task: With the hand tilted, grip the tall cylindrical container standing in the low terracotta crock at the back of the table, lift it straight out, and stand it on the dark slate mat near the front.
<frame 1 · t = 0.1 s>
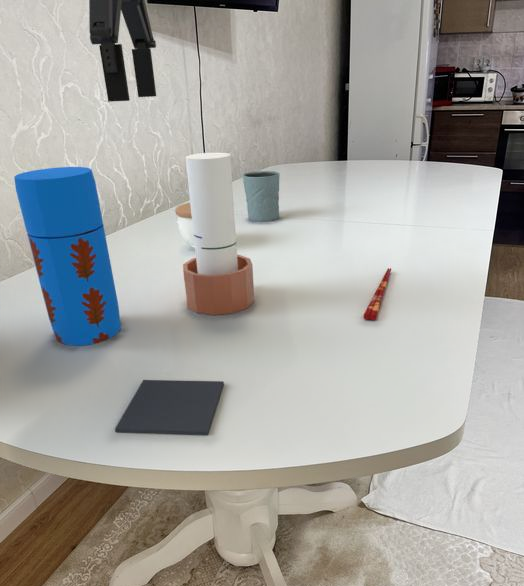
hand: (134, 99, 76), 34 cm above the table, tool pointing down, fingers open, 13 cm apart
crock: (220, 301, 95), on the table
lidded bowl: (205, 245, 127), on the table
mat: (173, 406, 65), on the table
thermos: (88, 332, 86), on the table
grey-green textured cup: (262, 218, 148), on the table
chopstick: (379, 293, 95), on the table
cylindrical container: (220, 302, 95), resting in crock
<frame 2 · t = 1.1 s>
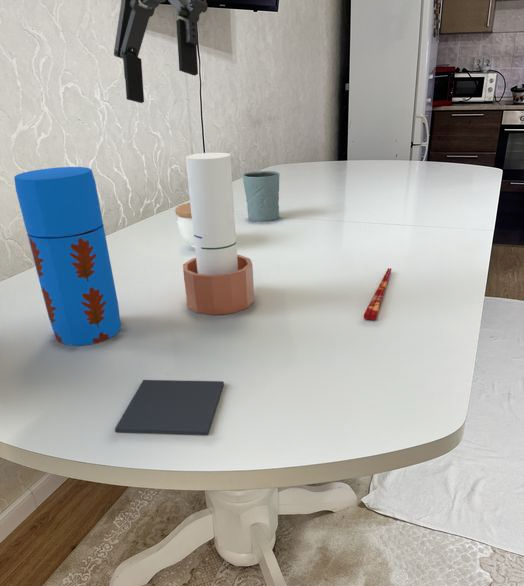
hand: (160, 87, 78), 35 cm above the table, tool tilted 20°, fingers open, 13 cm apart
nothing on the table moved.
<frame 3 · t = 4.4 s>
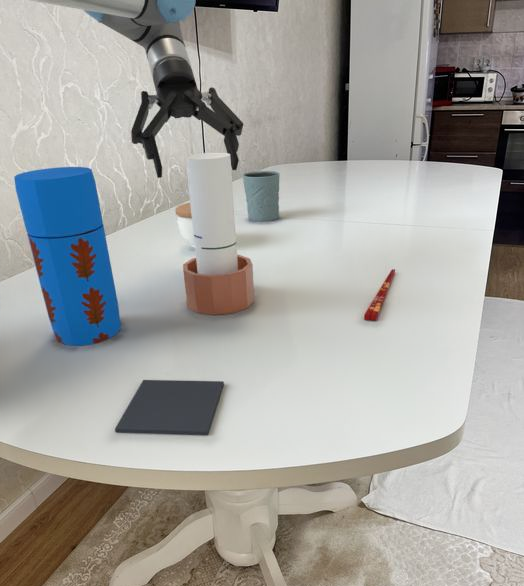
hand: (198, 169, 92), 22 cm above the table, tool tilted 45°, fingers open, 13 cm apart
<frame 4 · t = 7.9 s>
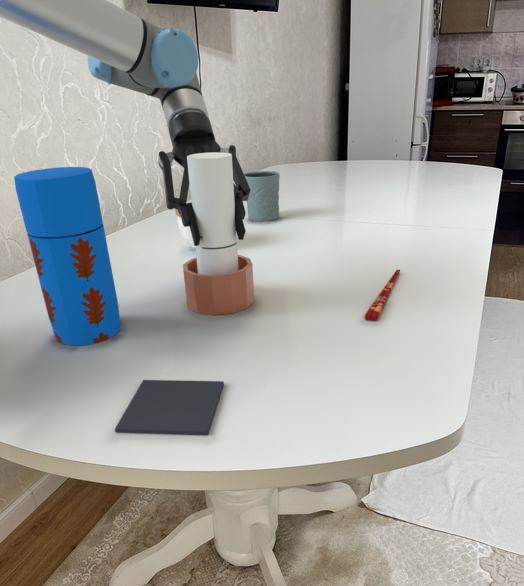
hand: (220, 238, 86), 13 cm above the table, tool tilted 45°, fingers closed on cylindrical container, 7 cm apart
cylindrical container: (220, 301, 95), resting in crock, touching gripper
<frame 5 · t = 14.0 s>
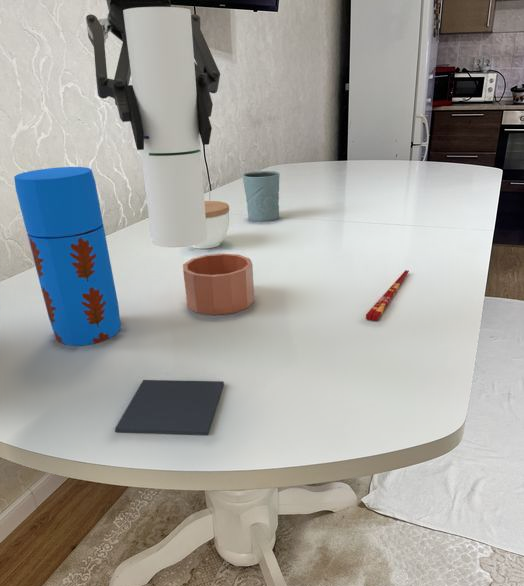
hand: (174, 138, 59), 30 cm above the table, tool tilted 45°, fingers closed on cylindrical container, 7 cm apart
cylindrical container: (179, 240, 68), point 18 cm above the table, touching gripper
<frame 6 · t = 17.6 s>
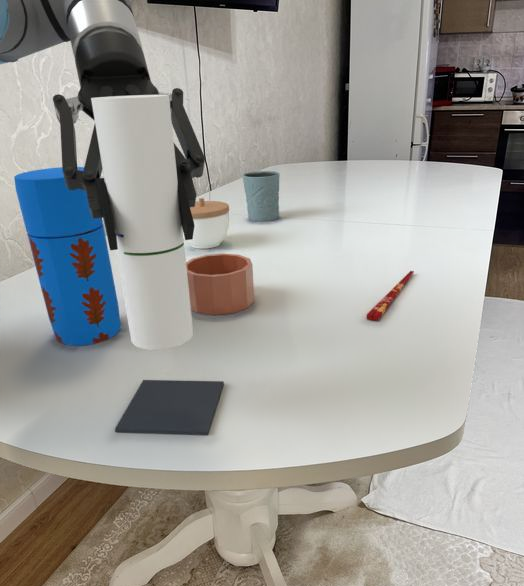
hand: (152, 237, 52), 22 cm above the table, tool tilted 45°, fingers closed on cylindrical container, 7 cm apart
cylindrical container: (162, 337, 61), point 10 cm above the table, touching gripper
when the fingers open (13 cm above the table, at t = 20.5 s): cylindrical container stays where it is, resting on mat.
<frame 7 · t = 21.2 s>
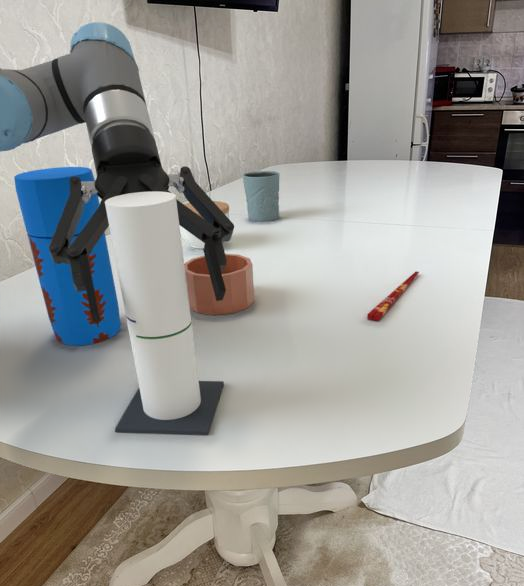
hand: (160, 306, 57), 15 cm above the table, tool tilted 45°, fingers open, 13 cm apart
cylindrical container: (172, 404, 65), resting on mat
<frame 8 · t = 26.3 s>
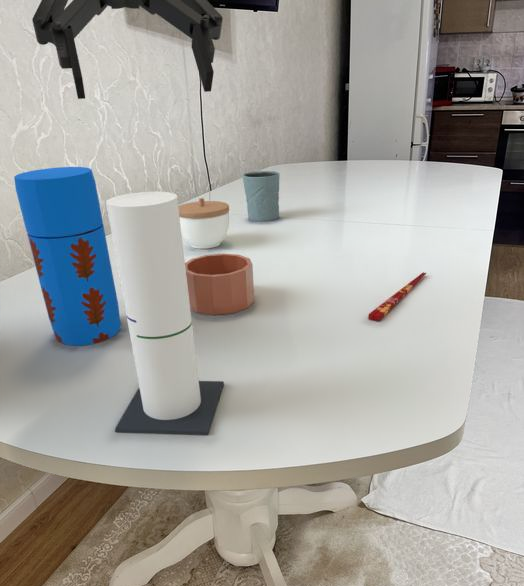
hand: (146, 85, 56), 36 cm above the table, tool tilted 45°, fingers open, 13 cm apart
at the end: cylindrical container inside the target area on the mat (0.1 cm from its centre), point 0.3 cm above the mat's base; cylindrical container tilted 0°; the gripper is holding nothing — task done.
